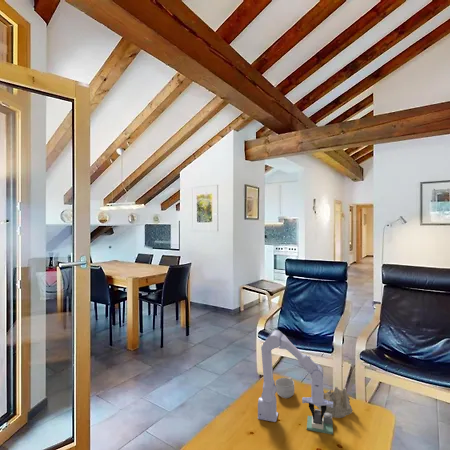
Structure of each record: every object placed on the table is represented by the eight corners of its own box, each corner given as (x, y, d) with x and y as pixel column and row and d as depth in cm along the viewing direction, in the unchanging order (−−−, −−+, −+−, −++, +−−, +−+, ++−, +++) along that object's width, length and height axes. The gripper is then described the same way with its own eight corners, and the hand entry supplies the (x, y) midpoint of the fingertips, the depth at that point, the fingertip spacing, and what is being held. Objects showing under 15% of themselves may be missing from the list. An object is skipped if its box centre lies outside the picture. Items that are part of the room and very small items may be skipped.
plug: (314, 426, 152) (314, 413, 152) (314, 421, 155) (314, 408, 155) (320, 427, 151) (320, 414, 151) (320, 422, 154) (320, 409, 154)
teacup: (287, 402, 174) (286, 388, 174) (271, 395, 182) (271, 381, 182) (301, 393, 183) (301, 380, 183) (286, 386, 191) (286, 373, 191)
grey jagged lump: (357, 412, 164) (354, 383, 165) (332, 421, 158) (330, 391, 158) (336, 399, 178) (334, 372, 179) (312, 407, 172) (310, 379, 173)
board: (306, 429, 151) (306, 420, 151) (307, 417, 160) (307, 408, 160) (332, 434, 147) (332, 425, 147) (332, 421, 157) (332, 413, 157)
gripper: (301, 393, 152) (301, 421, 152) (333, 398, 147) (333, 427, 147) (302, 386, 158) (302, 412, 158) (332, 390, 154) (333, 418, 154)
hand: (317, 419), depth 153 cm, fingers closed on plug, 3 cm apart
